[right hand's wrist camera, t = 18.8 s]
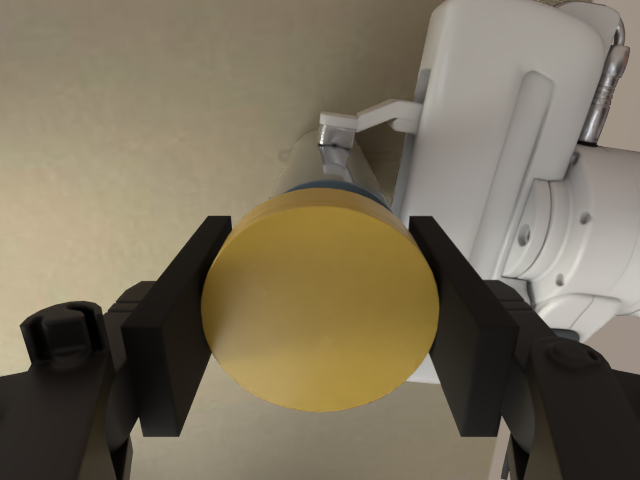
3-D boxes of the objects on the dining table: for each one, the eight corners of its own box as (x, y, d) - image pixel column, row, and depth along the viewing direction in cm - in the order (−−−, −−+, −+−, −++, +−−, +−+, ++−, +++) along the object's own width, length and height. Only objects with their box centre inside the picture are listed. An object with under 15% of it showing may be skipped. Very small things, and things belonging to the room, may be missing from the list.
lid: (218, 368, 13) (204, 406, 11) (211, 179, 11) (193, 197, 9) (408, 377, 13) (420, 417, 12) (441, 194, 11) (461, 213, 9)
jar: (380, 154, 28) (446, 246, 13) (338, 218, 29) (352, 365, 14) (313, 111, 27) (298, 156, 12) (273, 179, 28) (216, 295, 13)
